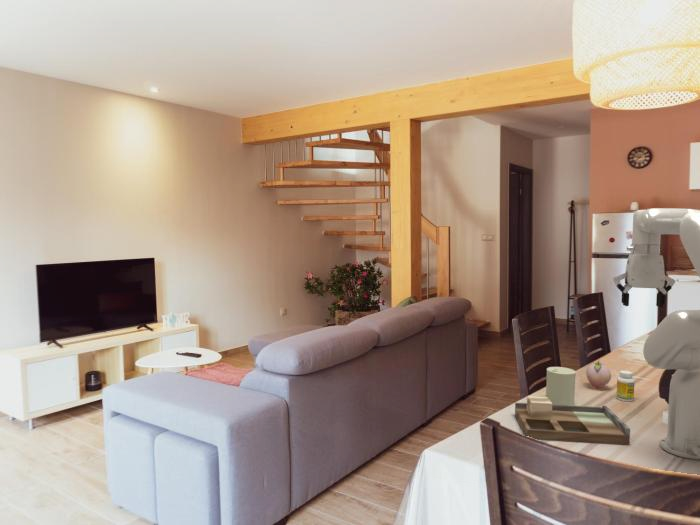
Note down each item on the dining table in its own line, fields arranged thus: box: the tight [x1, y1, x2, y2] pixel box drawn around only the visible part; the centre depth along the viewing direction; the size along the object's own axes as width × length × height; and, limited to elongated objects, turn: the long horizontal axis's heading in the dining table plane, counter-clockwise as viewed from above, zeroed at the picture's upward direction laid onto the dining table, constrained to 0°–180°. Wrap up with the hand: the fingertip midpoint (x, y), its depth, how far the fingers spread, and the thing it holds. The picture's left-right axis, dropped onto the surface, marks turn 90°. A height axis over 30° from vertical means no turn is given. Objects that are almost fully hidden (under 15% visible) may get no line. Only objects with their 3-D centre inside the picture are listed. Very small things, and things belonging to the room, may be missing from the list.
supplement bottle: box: [616, 370, 635, 402], centre depth 186 cm, size 5×5×10 cm
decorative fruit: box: [585, 361, 612, 389], centre depth 198 cm, size 9×8×10 cm
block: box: [526, 395, 552, 419], centre depth 162 cm, size 6×6×4 cm
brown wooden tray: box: [514, 402, 631, 446], centre depth 157 cm, size 19×27×4 cm
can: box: [545, 366, 577, 406], centre depth 179 cm, size 9×9×12 cm
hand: (642, 306), depth 164 cm, fingers open, 9 cm apart
